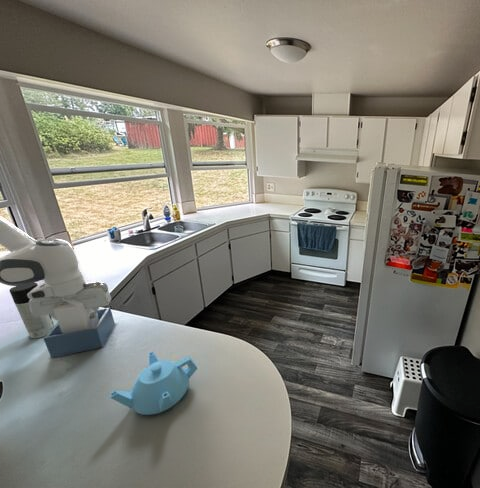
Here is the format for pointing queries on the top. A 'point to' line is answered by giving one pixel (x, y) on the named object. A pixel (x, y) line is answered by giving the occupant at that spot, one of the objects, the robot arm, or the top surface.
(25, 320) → the spray can
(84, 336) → the tub
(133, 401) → the teapot
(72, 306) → the milk carton
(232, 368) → the top surface
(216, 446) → the top surface
